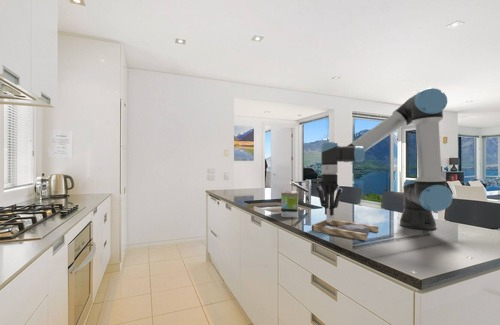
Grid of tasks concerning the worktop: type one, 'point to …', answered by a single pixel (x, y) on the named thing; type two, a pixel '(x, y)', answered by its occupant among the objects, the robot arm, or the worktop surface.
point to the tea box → (289, 204)
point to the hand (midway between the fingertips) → (329, 221)
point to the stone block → (355, 228)
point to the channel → (351, 234)
